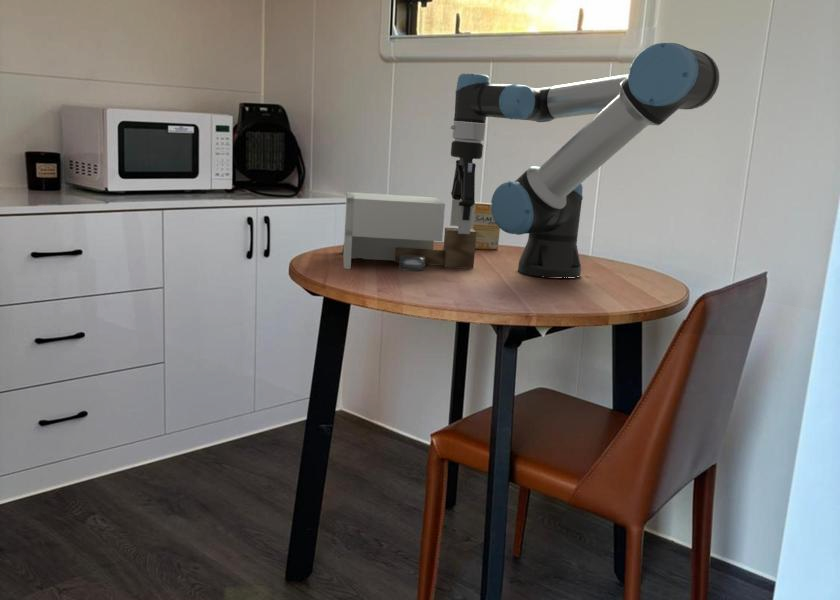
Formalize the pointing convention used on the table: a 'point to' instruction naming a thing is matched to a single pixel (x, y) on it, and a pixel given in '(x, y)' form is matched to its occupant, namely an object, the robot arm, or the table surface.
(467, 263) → the tan block on stick
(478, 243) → the supplement box
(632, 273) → the table surface
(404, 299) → the table surface
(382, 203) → the shelf cabinet
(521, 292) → the table surface
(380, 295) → the table surface
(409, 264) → the shiny grey metal dome
